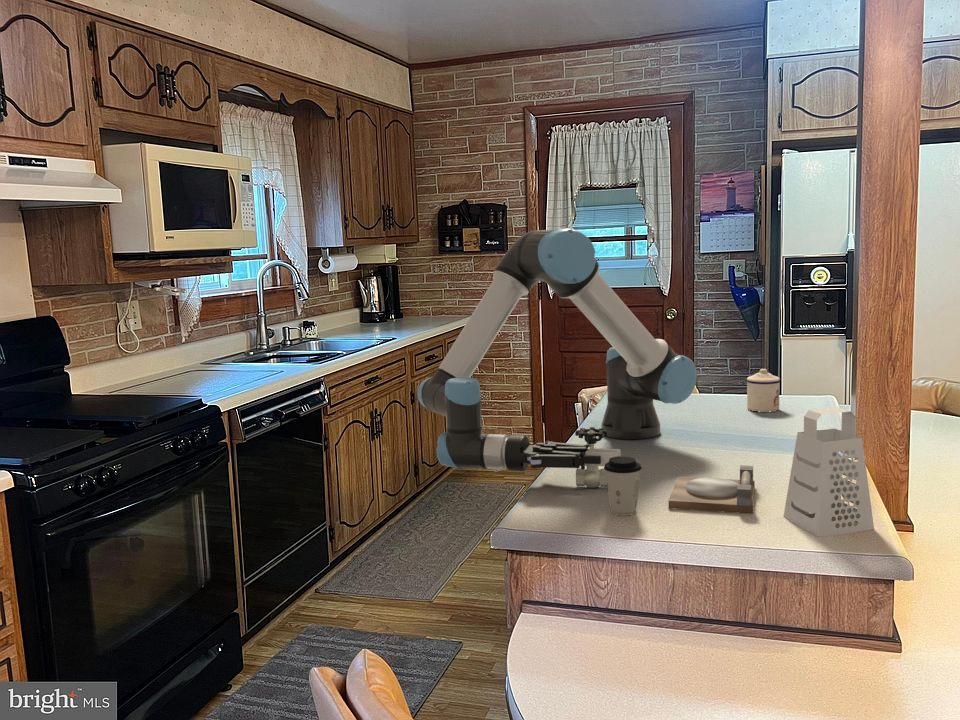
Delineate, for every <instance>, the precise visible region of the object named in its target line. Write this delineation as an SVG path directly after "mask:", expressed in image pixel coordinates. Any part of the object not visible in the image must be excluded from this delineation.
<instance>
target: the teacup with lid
mask: <svg viewBox="0 0 960 720" xmlns="http://www.w3.org/2000/svg"><path fill="white" fill-rule="evenodd" d="M780 382H781V378H780V377H778V376H776V375H773V374H772V373H770V372H768V370H767V369H766V368H760V369H759V372H756V373H755V374H753V375H750V376H748V377H747V378H746V385H747V386H746V388H747V391H746V395H747V396H746V397H747V398H746V399H747V401H746V402H747V403H746V405H747V406H746V408H747V410H748V409H749V410H748V411H750V410H752V411H751V412H753V411H760V412H759V413H762V412H767V413H770V412H769V411H775V412H777V411H776V410H778V411H779V410H780Z"/></svg>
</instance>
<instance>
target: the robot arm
mask: <svg viewBox="0 0 960 720" xmlns="http://www.w3.org/2000/svg"><path fill="white" fill-rule="evenodd" d="M595 254H596V250H595V247H594V244H593V243H592V241H591V240H590V238H589V237H588V236H587V235H586V234H584V233H583V232H581V231H579V230H576V229H572V228H564V227H560V228H553V229H535V230H531V231H528V232H526V233H524V234H522V235H521V236H520V237H519V238H517V239H516V240H515V241H514V242H513V243H512V245H511V246H510V247H509V248H508V249H507V251H506V252H505V254H504V255H503V256H502V258H501V259H500V261H499V262H498V264H497V266H496V267H495V269H494V270H493V272H492V275H493V280H492V282H491V284H490V285H489V287H487V290H486V291H485V293H484V295H483V297H482V298H480V299H481V300H480V301H479V302H478V304H477V306H476V307H475V309H474V311H473V312H472V314H471V315H470V317H469V318H468V320H467V322H466V323H465V324H464V327H463V328H462V330H461V332H460V333H459V334H458V336H457V338H456V339H455V341H454V342H453V344H452V346H451V347H450V348H449V350H448V352H447V354H446V355H445V356H444V358H443V360H442V361H441V363H440V365H439V366H438V368H437V369H436V371H435V372H434V374H433V375H432V376H431V377H428V378H425V379H424V380H422V382H421V383H420V384H419V385H418V387H417V391H416V392H417V394H416V395H417V396H416V397H417V399H418V402H419V403H420V405H421V406H422V407H423V408H425V409H426V410H427V411H429V412H432V413H436V414H439V415H440V416H443V417H445V418H446V431H445V432H442V433H441V434H440V435H439V436H438V438H437V441H436V449H435V450H436V451H435V452H436V457H437V461H438V462H439V463H440V465H441V466H443V467H447V468H448V467H450V468H457V469H476V470H477V469H478V470H479V469H480V470H493V471H494V472H495V473H498V472H499V471H506V470H509V471H513V472H525V471H526V470H527V469H528V468H529V465H530V468H531V469H539V468H550V469H551V468H555V469H556V468H557V469H558V468H559V469H562V468H563V469H577V468H578V469H585V470H586V466H585V464H586V465H592V466H598V467H604V466H605V464H606V463H607V462H609V458H612V457H617V456H621V457H622V455H621V453H622V451H621V448H620V449H619V448H604V447H602V448H599V447H596V448H597V452H589V451H587V448H588V447H589V444H588V443H586V444H580V443H568V442H567V443H566V442H555V441H550V440H547V441H545V443H544V442H536V443H535V444H531V443H530V440H529V437H528V436H526V435H522V434H519V435H518V434H511V435H508V434H504V433H503V434H498V433H497V434H495V433H483V427H482V426H483V425H482V424H483V423H482V393H481V388H480V387H481V386H480V385H481V384H480V381H479V380H478V379H477V378H476V377H472V376H473V374H474V373H475V371H476V370H477V368H478V366H479V365H480V363H481V362H482V360H483V358H484V357H485V355H486V353H487V352H488V350H489V349H490V347H491V346H492V344H493V342H494V340H495V339H496V337H497V336H498V334H499V333H500V331H501V330H502V328H503V326H504V325H505V323H506V321H507V320H508V318H509V317H510V315H511V314H512V312H513V310H514V309H515V308H516V306H517V304H518V302H519V301H520V299H521V298H522V297H523V296H528V294H529V293H530V292H531V290H532V288H533V287H534V286H535V285H536V284H537V283H539V282H544V283H546V284H547V285H548V287H549V288H551V290H552V291H553V292H554V293H555V294H556V296H558V297H559V298H560V299H569V300H570V301H571V302H572V303H573V304H574V306H576V307H577V309H579V311H580V312H581V313H582V314H583V315H584V316H585V317H586V318H587V320H588V321H589V322H590V323H591V324H592V325H593V326H594V327H595V329H596V330H597V331H598V332H599V333H600V334H601V335H602V337H603V338H604V339H605V340H606V341H607V342H608V343H609V344H610V345H611V346H612V347H609V349H607V351H606V360H605V364H606V387H607V388H606V392H607V393H606V394H607V402H606V403H607V404H606V408H605V411H604V415H603V418H602V421H601V425H600V426H601V427H600V428H604V430H607V431H608V436H606V438H607V437H608V438H613V439H618V440H619V439H621V440H622V439H623V440H643V439H650V438H655V437H657V436H659V435H660V434H661V421H660V420H659V417H658V413H657V410H656V408H655V405H654V401H657V402H662V403H664V404H671V405H674V404H675V405H676V404H680V403H682V402H685V401H686V400H687V399H688V398H689V397H690V396H691V395H692V393H693V392H694V389H695V387H696V384H697V377H698V371H697V367H696V365H695V363H694V361H693V360H692V359H691V358H689V357H687V356H686V355H682V354H678V353H676V352H675V351H674V350H673V348H672V347H671V346H670V345H669V343H667V342H666V340H665V339H662V338H655V337H654V336H653V335H652V334H651V333H650V331H648V329H647V328H646V327H645V326H644V324H643V323H642V322H641V321H640V320H639V319H638V318H637V317H636V315H635V314H634V313H633V312H632V311H631V310H630V309H629V307H628V306H627V304H625V303H624V301H623V300H622V299H621V298H620V297H619V295H618V294H617V293H616V292H615V291H614V289H613V288H612V287H611V286H610V285H609V284H608V282H606V280H605V279H604V278H603V276H601V274H600V273H599V271H600V264H599V263H600V262H598V261H597V257H596V256H595ZM603 436H605V434H603Z"/></svg>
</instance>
